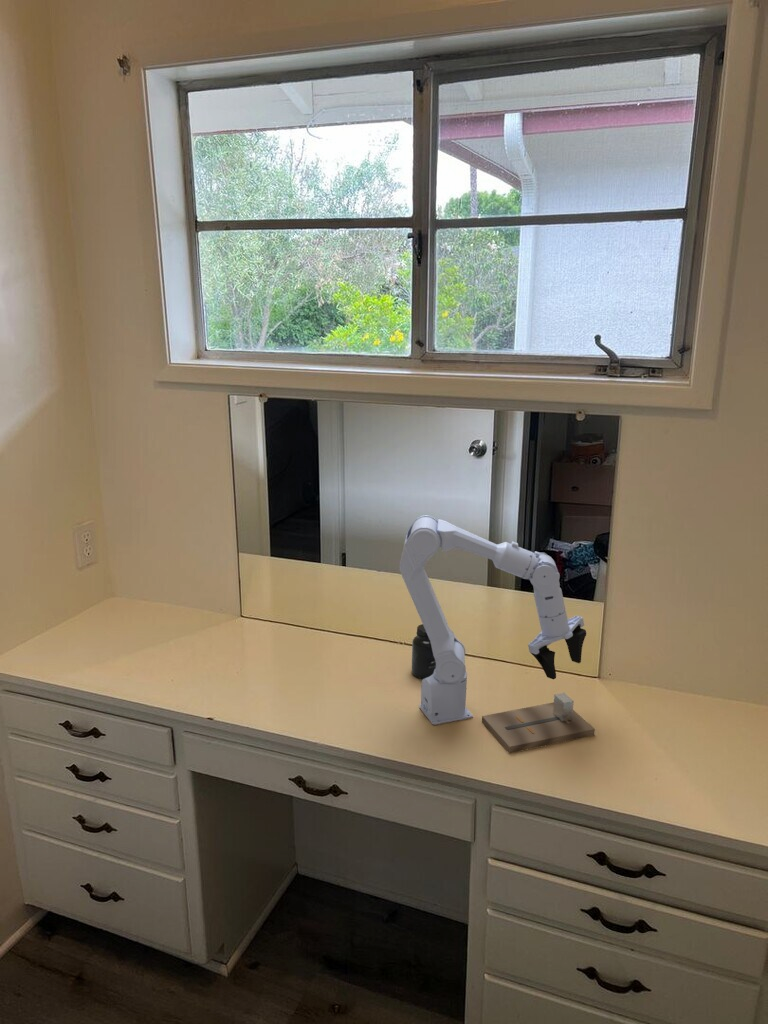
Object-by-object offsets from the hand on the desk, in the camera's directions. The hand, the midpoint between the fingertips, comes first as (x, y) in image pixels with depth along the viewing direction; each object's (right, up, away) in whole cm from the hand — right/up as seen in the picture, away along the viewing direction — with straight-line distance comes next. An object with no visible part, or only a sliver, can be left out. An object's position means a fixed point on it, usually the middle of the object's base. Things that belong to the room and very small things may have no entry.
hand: (564, 669), depth 157 cm
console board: (-6, -12, -1) cm, 14 cm away
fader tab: (0, -10, +1) cm, 10 cm away
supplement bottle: (-28, -6, +22) cm, 36 cm away
